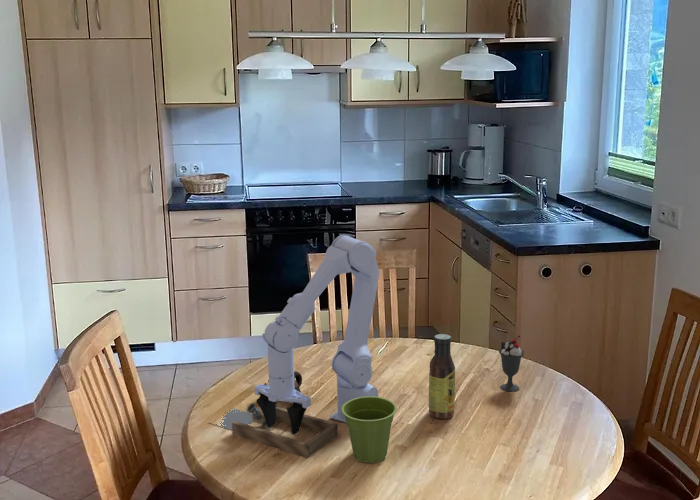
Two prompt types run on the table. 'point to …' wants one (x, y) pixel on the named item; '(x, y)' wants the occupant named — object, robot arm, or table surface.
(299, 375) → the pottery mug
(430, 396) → the sauce bottle
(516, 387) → the sundae
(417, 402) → the table surface
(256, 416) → the vase
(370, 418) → the plant pot
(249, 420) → the slate coaster
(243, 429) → the walnut tray
